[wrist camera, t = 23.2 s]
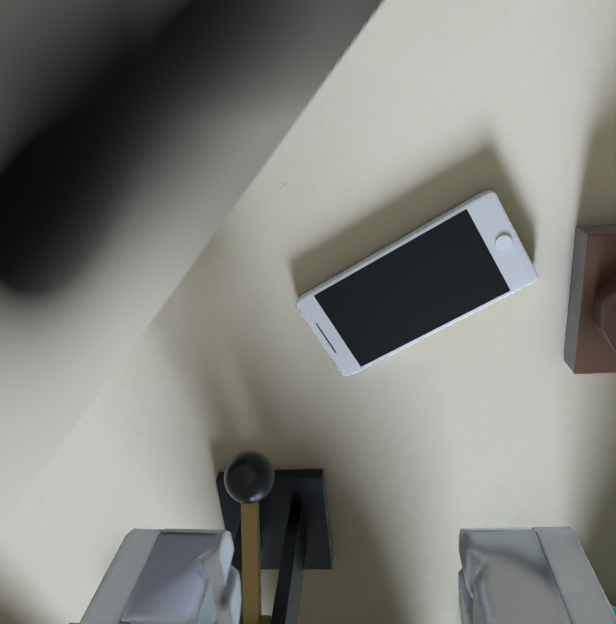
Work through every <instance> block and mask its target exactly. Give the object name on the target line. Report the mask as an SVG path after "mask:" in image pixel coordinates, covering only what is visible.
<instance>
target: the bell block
mask: <svg viewBox="0 0 616 624" xmlns="http://www.w3.org/2000/svg"><path fill="white" fill-rule="evenodd" d="M564 361H565V362H566V363H567V365H568V366H569V367H570V369H571V370H572V371H573V373H574V374H591V373H616V224H614V225H599V226H584V227H576V233H575V244H574V255H573V266H572V277H571V288H570V299H569V310H568V321H567V332H566V343H565V354H564Z"/></svg>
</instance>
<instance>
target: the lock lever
mask: <svg viewBox="0 0 616 624" xmlns="http://www.w3.org/2000/svg"><path fill="white" fill-rule="evenodd" d="M274 481H275V472H274V468H273V466H272V464H271V462H270V461H269V459H268V458H267V457H265V456H264V455H263V454H261V453H258V452H255V451H246V452H242V453H239V454H238V455H236V456H235V457H233V458H232V459H231V460H230V462H229V463H228V465H227V467H226V469H225V473H224V484H225V487H226V490H227V492H228V493H229V495H230V496H231V497H232V498H233V499H235V500H236V501H238V502H240V503H241V534H242V592H243V615H241V616H240V621H239V624H271V616H269V615H262V614H261V568H260V523H259V502H260V501H261V500H263V499H264V498H266V497H267V496H268V494H269V493H270V492H271V490H272V488H273V486H274Z"/></svg>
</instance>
